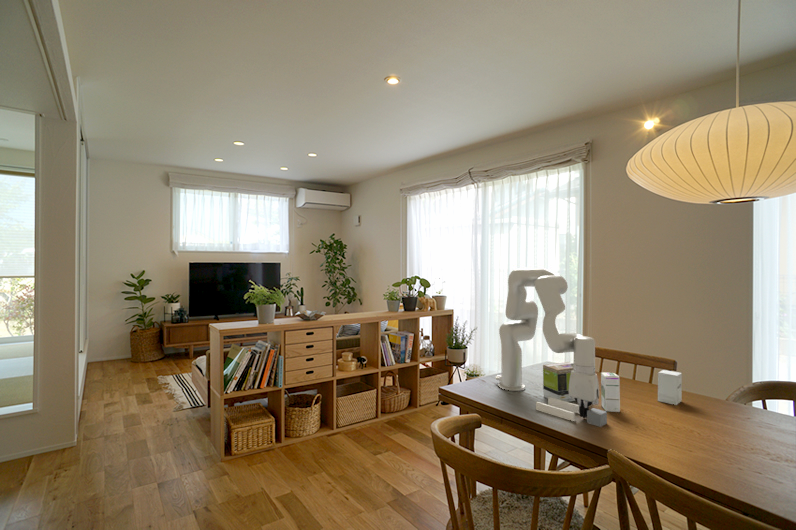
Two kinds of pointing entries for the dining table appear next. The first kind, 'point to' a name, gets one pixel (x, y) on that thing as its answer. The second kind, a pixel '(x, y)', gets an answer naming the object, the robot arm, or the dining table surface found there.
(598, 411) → the block
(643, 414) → the dining table surface
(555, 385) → the tea box
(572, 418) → the channel
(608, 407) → the syrup box
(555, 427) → the dining table surface
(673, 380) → the supplement box
